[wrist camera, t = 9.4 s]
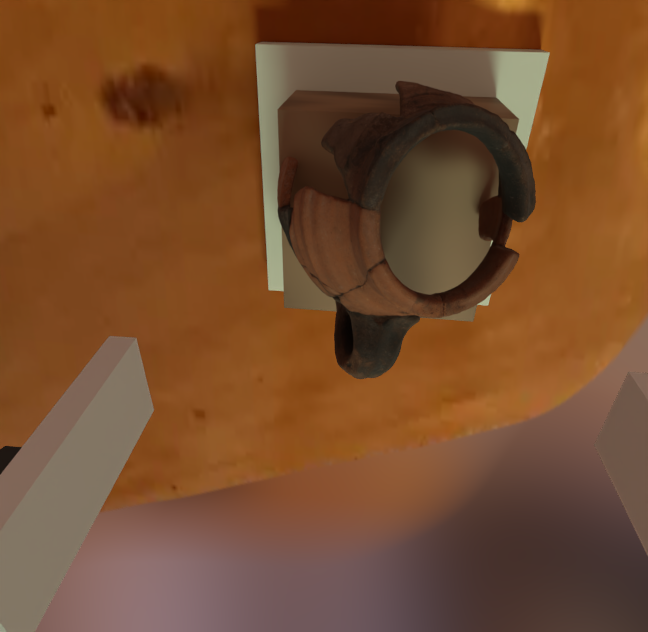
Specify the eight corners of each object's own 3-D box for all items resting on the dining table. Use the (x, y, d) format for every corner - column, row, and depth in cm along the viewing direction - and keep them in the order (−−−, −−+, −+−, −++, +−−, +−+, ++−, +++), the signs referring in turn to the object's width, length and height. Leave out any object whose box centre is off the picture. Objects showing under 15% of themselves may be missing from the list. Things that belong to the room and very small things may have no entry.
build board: (273, 278, 33) (268, 289, 31) (261, 41, 25) (255, 44, 24) (484, 293, 32) (488, 305, 30) (541, 49, 24) (549, 52, 23)
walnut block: (298, 264, 30) (284, 307, 26) (295, 90, 25) (277, 109, 21) (461, 275, 29) (473, 321, 25) (496, 97, 24) (519, 119, 20)
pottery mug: (261, 84, 20) (338, 56, 13) (448, 105, 24) (588, 92, 17) (257, 346, 24) (315, 434, 17) (417, 331, 28) (521, 399, 21)
